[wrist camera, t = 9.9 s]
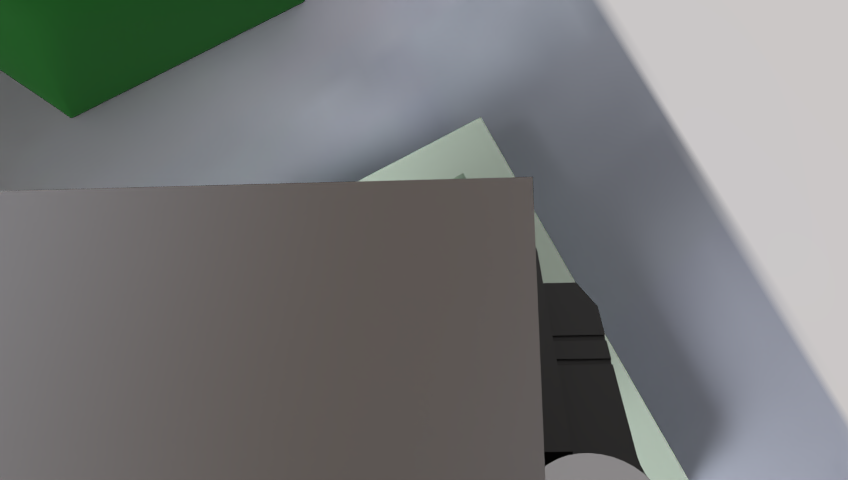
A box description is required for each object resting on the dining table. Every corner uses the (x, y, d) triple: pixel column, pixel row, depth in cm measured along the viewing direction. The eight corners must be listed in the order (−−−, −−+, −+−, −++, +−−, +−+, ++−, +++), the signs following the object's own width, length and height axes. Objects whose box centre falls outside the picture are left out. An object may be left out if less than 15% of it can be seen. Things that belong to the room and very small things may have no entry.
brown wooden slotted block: (306, 526, 15) (-196, 1011, 3) (310, 326, 15) (-97, 193, 4) (486, 525, 14) (568, 1033, 3) (480, 324, 15) (532, 176, 4)
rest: (133, 323, 19) (95, 317, 17) (478, 143, 19) (480, 117, 17) (304, 707, 17) (284, 751, 15) (679, 498, 17) (709, 515, 15)
